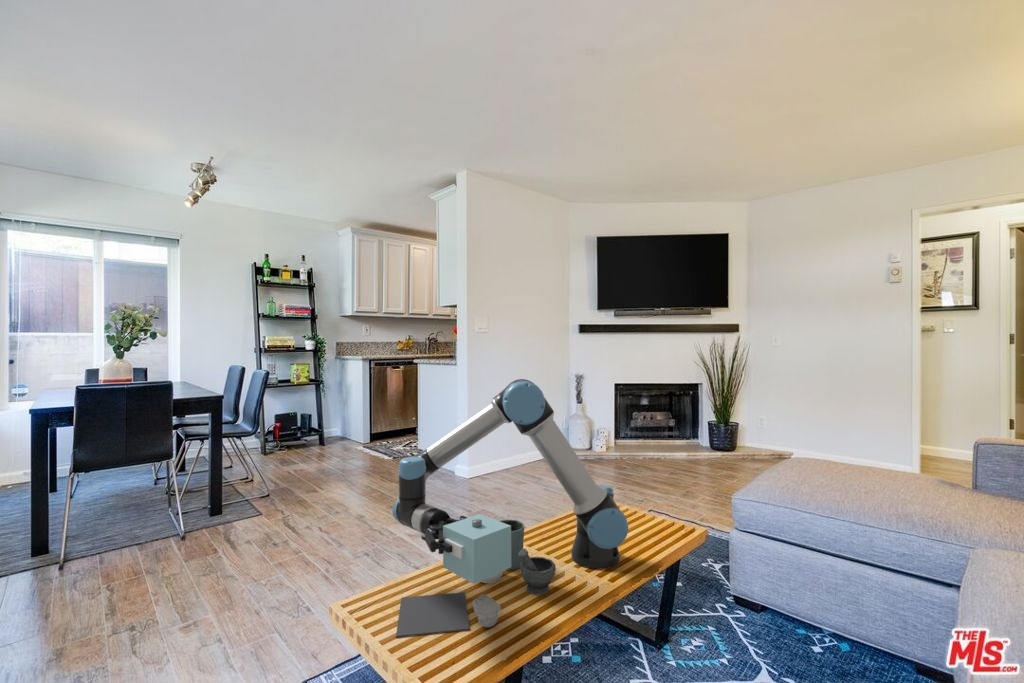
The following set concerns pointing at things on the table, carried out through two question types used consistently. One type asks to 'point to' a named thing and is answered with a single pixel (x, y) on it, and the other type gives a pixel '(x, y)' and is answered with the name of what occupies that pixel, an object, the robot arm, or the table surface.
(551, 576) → the mortar and pestle
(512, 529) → the grey green cylindrical pot
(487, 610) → the grey lumpy rounded piece
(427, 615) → the rubber mat
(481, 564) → the cover tub
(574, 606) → the table surface
